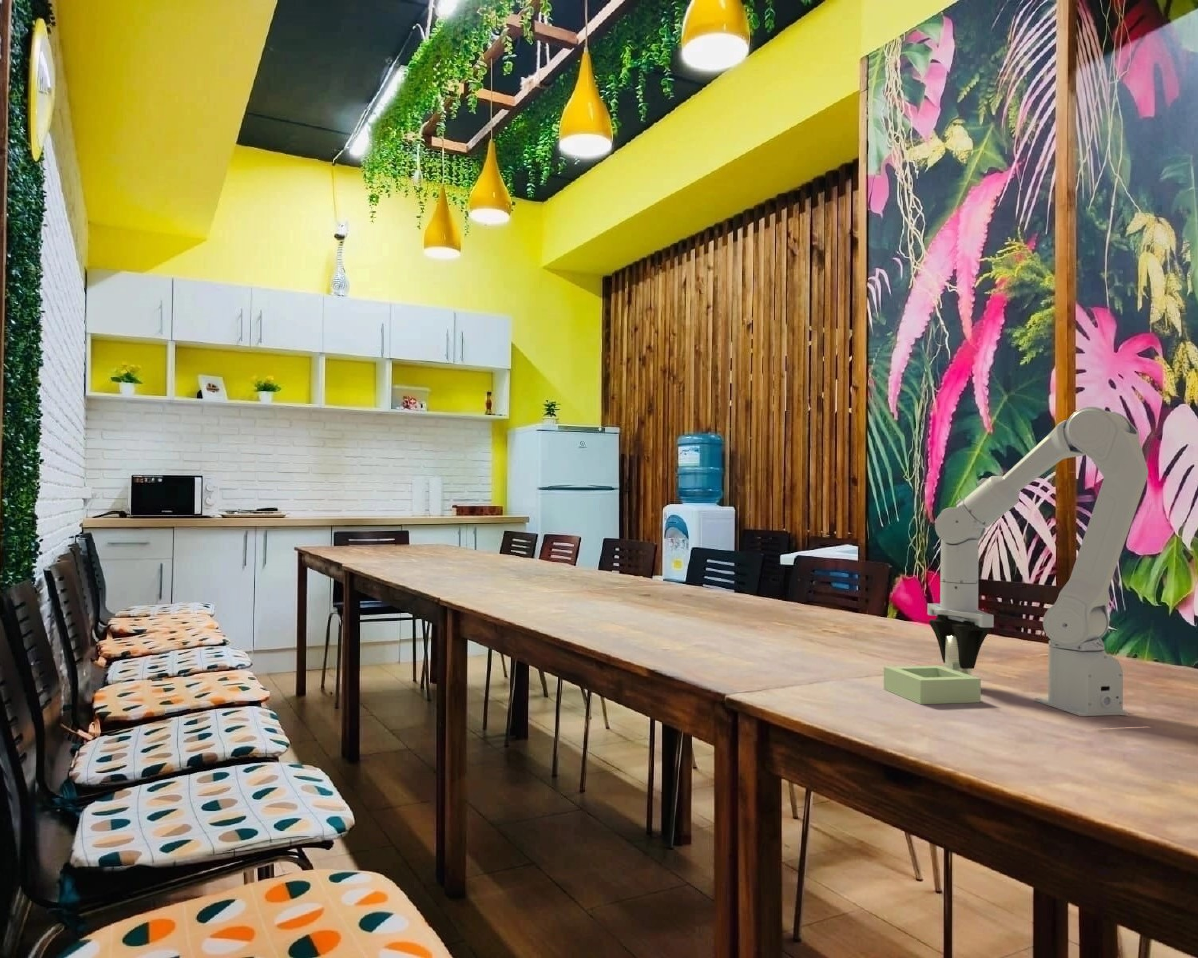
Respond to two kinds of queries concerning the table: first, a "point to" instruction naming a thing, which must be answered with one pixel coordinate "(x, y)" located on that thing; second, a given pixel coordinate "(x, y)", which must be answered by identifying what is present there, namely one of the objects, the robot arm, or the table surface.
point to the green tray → (932, 684)
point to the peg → (953, 655)
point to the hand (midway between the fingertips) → (958, 665)
